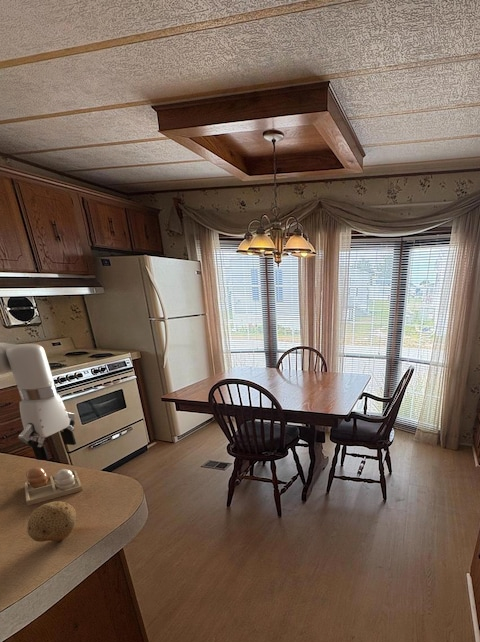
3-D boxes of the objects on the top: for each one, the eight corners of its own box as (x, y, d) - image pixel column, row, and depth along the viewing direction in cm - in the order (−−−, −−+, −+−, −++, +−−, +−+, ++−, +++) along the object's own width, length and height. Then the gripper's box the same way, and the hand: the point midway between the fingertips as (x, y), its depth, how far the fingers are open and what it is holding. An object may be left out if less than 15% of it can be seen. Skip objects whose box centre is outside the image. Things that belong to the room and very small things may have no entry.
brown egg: (27, 491, 99) (20, 472, 96) (35, 484, 103) (29, 465, 100) (45, 490, 100) (38, 471, 97) (52, 482, 104) (46, 464, 101)
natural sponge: (49, 558, 76) (36, 521, 72) (25, 546, 79) (11, 510, 75) (89, 534, 83) (79, 499, 80) (66, 524, 87) (55, 490, 83)
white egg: (55, 493, 98) (49, 474, 96) (62, 485, 102) (56, 466, 100) (72, 492, 99) (67, 473, 97) (79, 484, 103) (73, 465, 101)
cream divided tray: (28, 506, 93) (26, 501, 92) (25, 487, 101) (24, 482, 101) (83, 491, 100) (81, 486, 100) (76, 474, 109) (75, 469, 109)
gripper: (51, 384, 97) (68, 438, 104) (-7, 402, 81) (17, 465, 88) (76, 385, 97) (91, 439, 104) (23, 403, 81) (44, 466, 88)
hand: (57, 451), depth 96 cm, fingers open, 9 cm apart
